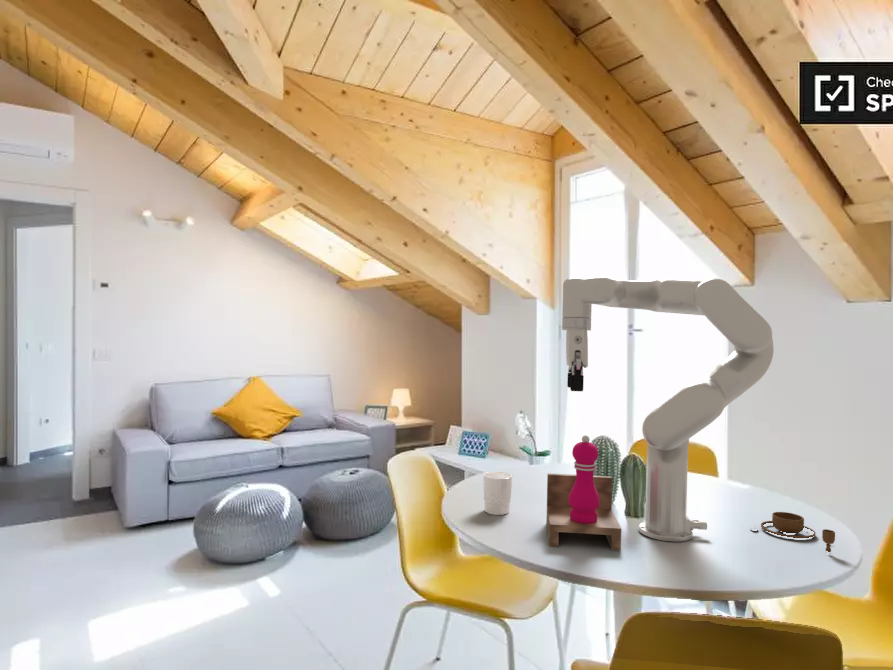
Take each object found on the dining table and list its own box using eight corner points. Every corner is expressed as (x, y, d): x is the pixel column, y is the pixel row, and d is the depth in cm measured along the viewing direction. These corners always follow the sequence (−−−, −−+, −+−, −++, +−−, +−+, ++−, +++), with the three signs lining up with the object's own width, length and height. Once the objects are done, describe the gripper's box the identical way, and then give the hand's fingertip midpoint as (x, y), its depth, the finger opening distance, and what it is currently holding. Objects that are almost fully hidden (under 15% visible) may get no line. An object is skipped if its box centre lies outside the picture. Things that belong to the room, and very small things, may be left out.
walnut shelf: (610, 527, 151) (611, 476, 150) (620, 550, 135) (622, 493, 135) (546, 523, 152) (547, 473, 152) (549, 545, 137) (550, 489, 137)
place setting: (825, 534, 151) (826, 510, 151) (839, 560, 133) (840, 534, 133) (748, 523, 158) (749, 501, 158) (751, 546, 140) (752, 522, 140)
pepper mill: (599, 516, 143) (601, 433, 143) (599, 526, 136) (601, 439, 136) (569, 513, 145) (571, 431, 145) (566, 522, 138) (569, 437, 138)
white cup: (510, 517, 157) (510, 479, 157) (480, 514, 159) (481, 477, 159) (512, 508, 165) (513, 472, 165) (484, 506, 167) (485, 470, 167)
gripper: (595, 324, 148) (593, 393, 148) (587, 325, 165) (585, 386, 165) (564, 324, 149) (563, 392, 149) (559, 324, 166) (558, 385, 166)
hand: (575, 389), depth 157 cm, fingers open, 9 cm apart
